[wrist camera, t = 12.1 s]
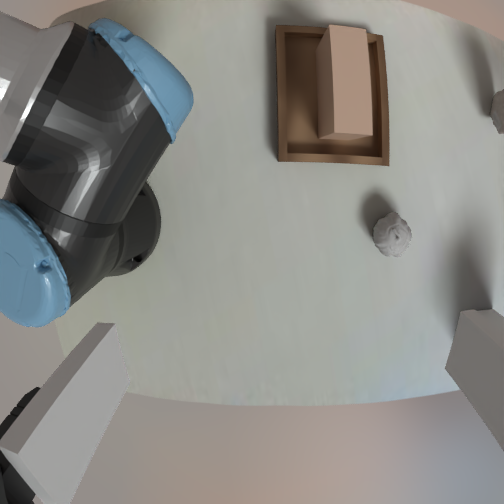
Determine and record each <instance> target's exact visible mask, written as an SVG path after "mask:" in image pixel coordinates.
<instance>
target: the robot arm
mask: <svg viewBox="0 0 504 504" xmlns="http://www.w3.org/2000/svg"><path fill="white" fill-rule="evenodd" d="M88 28H89V29H88V30H87V29H85V28H83V27H81V26H79V25H78V24H76V23H74V22H72V21H69V22H65V23H62V24H59V25H56V26H53V27H50V28H45V29H39V28H37V27H35V26H33V25H30V24H28V23H26V22H24V21H21V20H19V19H17V18H15V17H12V16H10V15H8V14H5V13H3V12H1V11H0V161H2V162H6V163H9V164H12V165H15V167H14V170H13V173H12V175H11V178H10V181H9V183H8V186H7V189H6V192H5V195H4V197H3V198H2V199H0V311H1V312H2V313H3V314H4V315H5V316H6V317H8V318H9V319H11V320H12V321H14V322H15V323H18V324H20V325H23V326H27V327H30V326H32V327H42V326H45V325H47V324H48V323H50V322H51V321H53V320H54V319H56V318H58V317H61V316H62V315H64V314H65V313H66V311H67V310H68V309H69V307H71V306H72V305H73V304H74V303H75V302H76V301H77V300H79V299H80V298H81V297H82V296H83V295H84V294H86V293H87V292H88V291H89V290H90V289H91V288H93V287H94V286H95V285H96V284H97V283H98V282H100V281H101V280H102V279H103V278H104V277H109V276H119V275H123V274H126V273H129V272H131V271H133V270H134V269H136V268H137V267H139V266H140V265H141V264H142V263H143V262H144V261H145V260H146V259H147V258H148V257H149V256H150V255H151V253H152V252H153V250H154V249H155V247H156V244H157V242H158V239H159V235H160V229H161V215H160V209H159V205H158V202H157V199H156V197H155V195H154V193H153V191H152V190H151V188H150V187H149V185H148V184H147V183H146V180H147V179H148V177H149V175H150V174H151V172H152V170H153V169H154V167H155V166H156V164H157V162H158V161H159V159H160V158H161V156H162V154H163V153H164V151H165V150H166V148H167V147H168V145H169V144H172V143H173V142H174V141H175V139H176V133H177V131H178V130H179V128H180V127H181V125H182V123H183V122H184V120H185V119H186V117H187V116H188V114H189V112H190V111H191V109H192V106H193V92H192V90H191V87H190V85H189V83H188V82H187V80H186V79H185V78H184V76H183V75H182V74H181V73H180V72H179V71H178V70H177V69H176V68H175V66H174V65H173V64H172V63H171V62H169V61H168V60H167V59H166V58H165V57H164V56H163V55H162V54H161V53H160V52H158V51H157V50H156V49H155V48H154V47H152V46H151V45H150V44H149V43H147V42H146V41H145V40H143V39H142V38H140V37H139V36H136V35H133V33H132V32H130V31H129V30H127V29H126V28H125V27H124V26H122V25H121V24H119V23H117V22H115V21H112V20H110V19H107V18H102V19H98V20H97V21H95V22H94V23H91V24H90V25H89V27H88ZM445 369H446V371H447V372H448V373H449V375H450V376H451V377H452V378H453V380H454V381H455V382H456V384H457V385H458V387H459V388H460V389H461V390H462V392H463V393H464V394H465V396H466V397H467V399H468V400H469V402H470V403H471V404H472V406H473V407H474V408H475V410H476V411H477V413H478V414H479V416H480V417H481V418H482V420H483V421H484V423H485V424H486V426H487V427H488V428H489V430H490V431H491V433H492V434H493V436H494V437H495V439H496V440H497V442H498V443H499V445H500V446H501V448H502V449H503V451H504V334H503V333H502V332H501V331H500V330H499V329H497V328H496V327H495V326H494V325H493V324H492V323H490V322H489V321H488V320H487V319H486V318H484V317H483V316H482V315H481V314H480V313H478V312H477V311H476V310H475V309H473V310H466V311H461V312H460V316H459V320H458V324H457V328H456V332H455V336H454V339H453V343H452V347H451V350H450V353H449V357H448V360H447V363H446V366H445ZM129 384H130V379H129V376H128V373H127V369H126V365H125V362H124V358H123V354H122V350H121V346H120V342H119V338H118V334H117V330H116V326H115V324H113V323H97V324H96V325H95V326H94V327H93V328H92V329H91V330H90V331H89V333H88V334H87V335H86V336H85V337H84V338H83V339H82V341H81V342H80V343H79V344H78V345H77V346H76V347H75V348H74V350H73V351H72V352H71V353H70V354H69V355H68V357H67V358H66V359H65V360H64V361H63V362H62V364H61V365H60V366H59V367H58V368H57V369H56V371H55V372H54V373H53V374H52V376H51V377H50V378H49V379H48V380H47V382H46V383H45V384H44V385H43V386H42V387H41V388H39V387H36V388H35V389H33V390H31V391H30V392H29V393H27V394H25V395H24V397H23V398H22V399H21V400H20V401H19V403H18V404H17V407H14V409H13V410H12V411H11V412H10V415H8V416H7V417H6V418H5V420H4V421H3V422H2V424H1V425H0V504H34V502H33V501H32V500H33V498H34V496H35V495H37V496H38V498H39V499H40V500H41V501H42V502H43V503H44V504H70V503H71V500H72V498H73V496H74V494H75V492H76V490H77V487H78V485H79V483H80V481H81V479H82V477H83V475H84V473H85V471H86V469H87V467H88V465H89V462H90V460H91V458H92V456H93V454H94V452H95V450H96V448H97V446H98V444H99V442H100V440H101V438H102V436H103V434H104V432H105V430H106V428H107V426H108V424H109V422H110V420H111V418H112V417H113V414H114V413H115V411H116V409H117V407H118V405H119V403H120V401H121V399H122V397H123V395H124V393H125V392H126V390H127V388H128V386H129Z"/></svg>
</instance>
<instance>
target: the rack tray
mask: <svg viewBox="0 0 504 504" xmlns="http://www.w3.org/2000/svg"><path fill="white" fill-rule="evenodd" d="M326 30H327V28H322V27H309V26H290V25H276V30H275V40H276V74H277V123H278V162H326V163H350V164H367V165H382V166H389V107H388V88H387V74H386V62H385V51H384V42H383V36H382V35H377V34H371V33H366V34H367V43H368V53H369V65H370V79H371V97H372V128H373V135H372V136H367V137H362V138H358V139H353V140H335V139H318V98H317V72H316V52H315V51H316V49H317V47H318V45H319V43H320V41H321V39H322V37H323V35H324V33H325V32H326Z"/></svg>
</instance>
